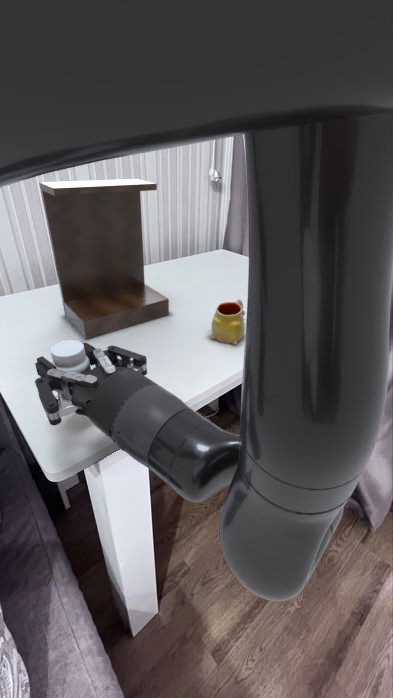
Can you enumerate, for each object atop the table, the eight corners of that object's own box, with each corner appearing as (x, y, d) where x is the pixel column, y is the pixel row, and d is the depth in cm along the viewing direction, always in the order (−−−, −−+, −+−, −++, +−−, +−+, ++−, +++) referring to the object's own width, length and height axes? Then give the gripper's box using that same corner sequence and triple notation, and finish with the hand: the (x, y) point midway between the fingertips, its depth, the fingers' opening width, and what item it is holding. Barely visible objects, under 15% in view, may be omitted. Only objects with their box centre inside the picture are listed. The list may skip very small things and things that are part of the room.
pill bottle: (102, 396, 47) (95, 345, 42) (75, 415, 43) (64, 362, 39) (79, 383, 49) (70, 334, 44) (52, 401, 45) (39, 349, 41)
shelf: (86, 339, 67) (61, 191, 52) (65, 316, 75) (38, 182, 60) (168, 314, 77) (168, 186, 63) (143, 296, 85) (136, 178, 70)
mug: (235, 348, 66) (239, 318, 63) (205, 339, 69) (207, 310, 65) (255, 324, 75) (259, 296, 72) (227, 316, 78) (230, 290, 74)
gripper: (190, 361, 38) (101, 313, 47) (78, 428, 28) (-5, 352, 38) (188, 410, 42) (106, 357, 51) (90, 483, 32) (12, 402, 42)
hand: (59, 355), depth 44 cm, fingers closed on pill bottle, 4 cm apart
